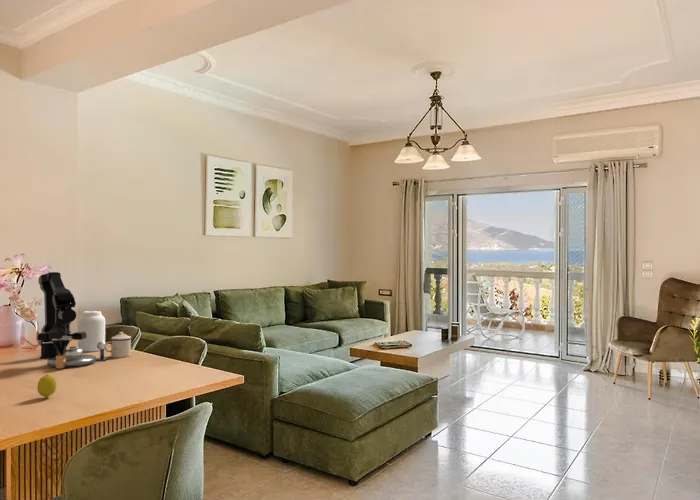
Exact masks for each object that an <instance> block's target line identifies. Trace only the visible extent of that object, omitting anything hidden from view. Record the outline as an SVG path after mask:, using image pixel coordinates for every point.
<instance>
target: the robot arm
mask: <svg viewBox="0 0 700 500" xmlns="http://www.w3.org/2000/svg"><path fill="white" fill-rule="evenodd" d="M38 284H39V287H40V289H41V291H42V293H44V294H43V297H44V300H43V301H44V322H45V323H44V325H43V327H42V328H41V332H40V333H38V334H37V335H36V340H37V341H38V342H37V343H38V346H40V348H41V349H40V357H39V359H51V358H54V357H56V356H57V355H65V350H66V349H68V346H69V344H70V343H71V341H73V340H75V341H78V340H82V339H85V338H86V335H87V334H86V333H85V332H78V331H76V332H73V333H72V331H71V326H70V325H71V324H72V322H74V321H75V320H76V319H77V312H76V310H74V309H72V308H75V307H76V304H77V303H76V299H75V296H74V295H73V293H72V291H71V290H70V289H68V288H66V286H65V285H64V282H63V280H62V275H61V273H60V272H58V271H53V272H52V271H51V272H50V271H49V272H47V273H44V274H40V276H39V277H38Z"/></svg>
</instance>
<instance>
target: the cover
mask: <svg viewBox="0 0 700 500" xmlns="http://www.w3.org/2000/svg"><path fill="white" fill-rule="evenodd" d="M64 355H66V360H78V359H82V358H83V355H84V352H83V349H82V348H78V345H74V346H69V348H66V350H65V352H64Z"/></svg>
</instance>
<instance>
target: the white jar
mask: <svg viewBox="0 0 700 500" xmlns="http://www.w3.org/2000/svg"><path fill="white" fill-rule="evenodd" d="M77 328H78V329H77V332H85V333H86V334H87V335H86V338H85V339H82V340H77V346H78V348H82V349H83V353H93V352H94V353H95V352H100V350H99V349H98V348H97V344H98V343H99V342H104V343H106V318H105V316H103V314H102V311H101V310H87V311H86V310H85V311H83V312H82V315H81V316H80V317H79V318H78V322H77Z"/></svg>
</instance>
